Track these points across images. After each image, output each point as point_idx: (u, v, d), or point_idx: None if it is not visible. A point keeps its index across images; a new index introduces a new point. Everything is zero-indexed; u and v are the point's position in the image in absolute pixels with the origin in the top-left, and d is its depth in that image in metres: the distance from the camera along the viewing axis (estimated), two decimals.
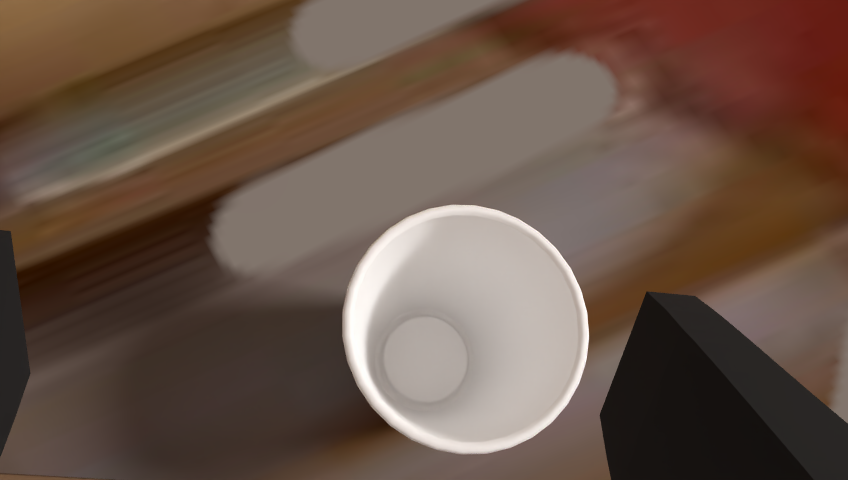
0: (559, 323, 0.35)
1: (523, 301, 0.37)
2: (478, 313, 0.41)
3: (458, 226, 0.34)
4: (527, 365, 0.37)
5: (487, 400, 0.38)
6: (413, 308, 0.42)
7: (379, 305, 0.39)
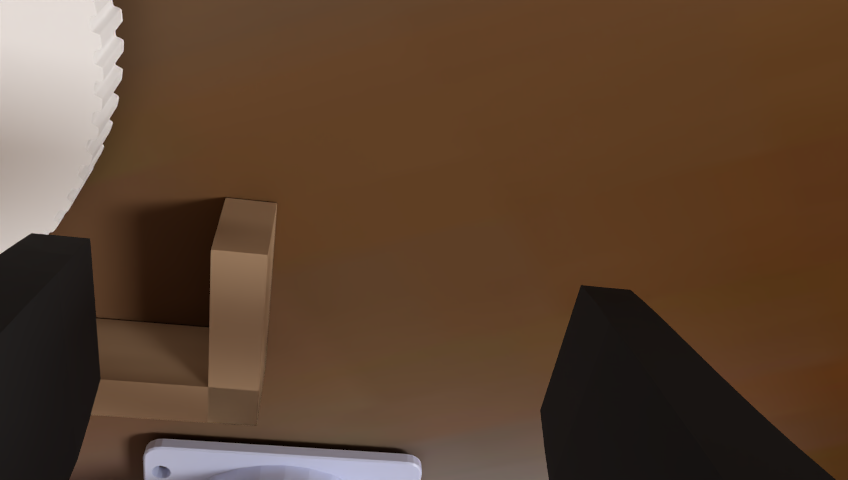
0: None
1: None
2: None
3: None
4: None
5: None
6: None
7: None
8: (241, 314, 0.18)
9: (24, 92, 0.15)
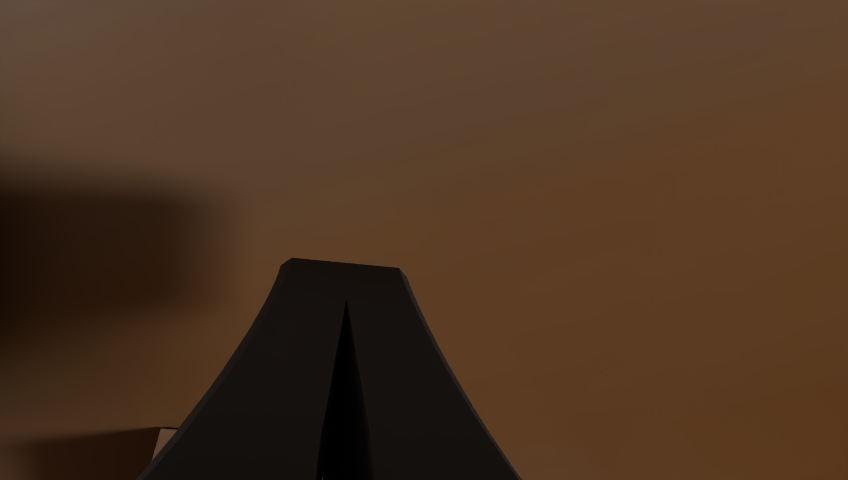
0: None
1: None
2: None
3: None
4: None
5: None
6: None
7: None
8: None
9: None
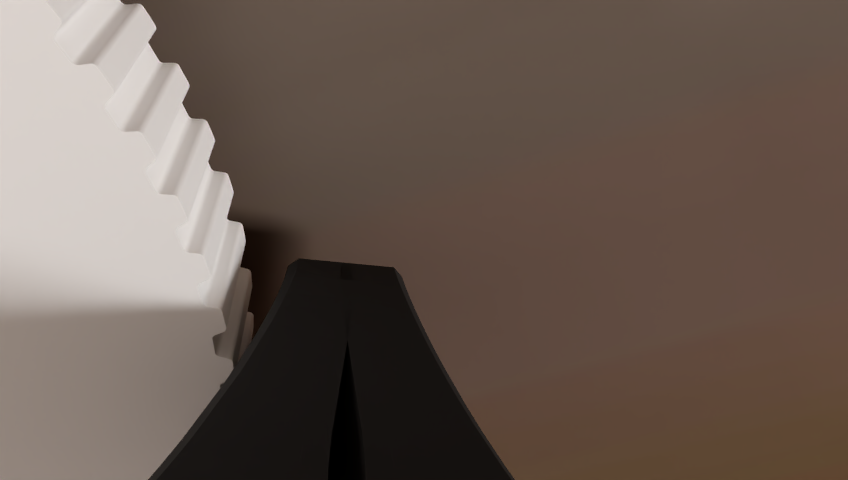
0: None
1: None
2: None
3: None
4: None
5: None
6: None
7: None
8: None
9: None
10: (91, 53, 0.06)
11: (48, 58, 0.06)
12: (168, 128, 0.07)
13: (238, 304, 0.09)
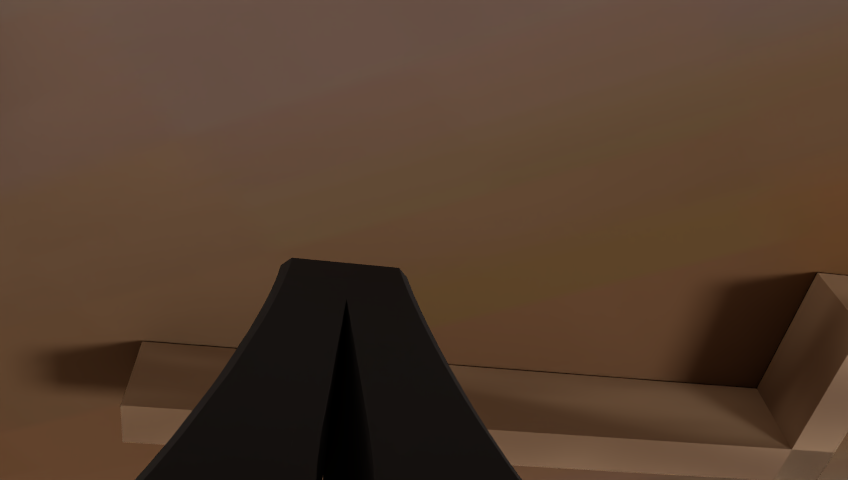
0: None
1: None
2: None
3: None
4: None
5: None
6: None
7: None
8: None
9: None
10: None
11: None
12: None
13: None
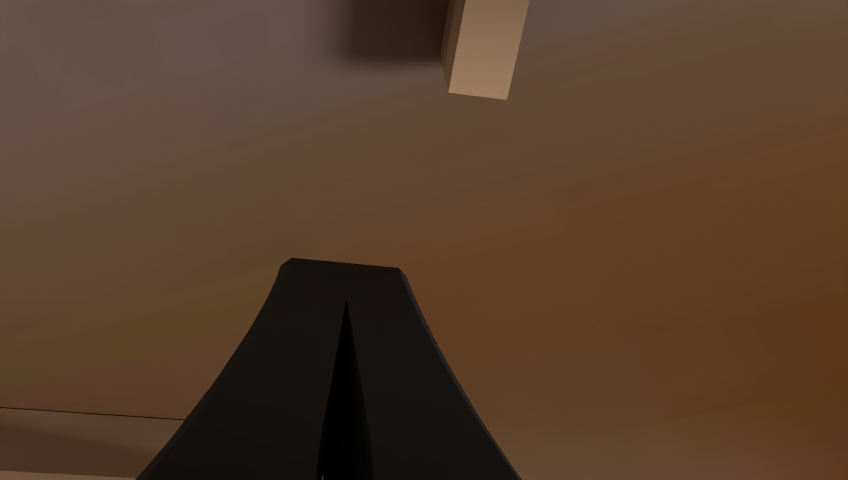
0: None
1: None
2: None
3: None
4: None
5: None
6: None
7: None
8: None
9: None
10: None
11: None
12: None
13: None
